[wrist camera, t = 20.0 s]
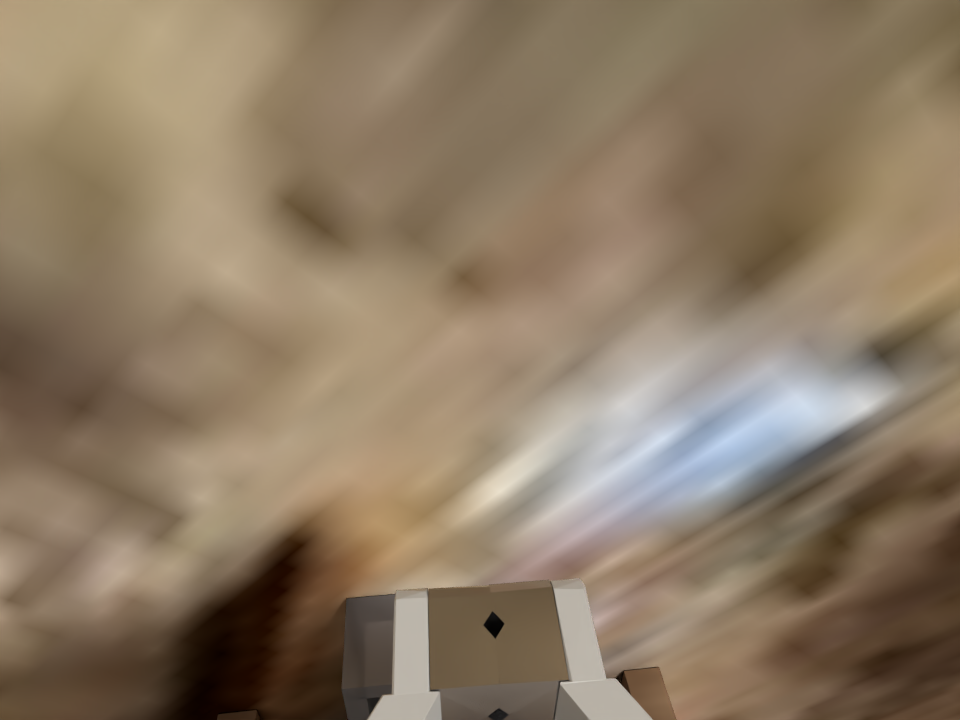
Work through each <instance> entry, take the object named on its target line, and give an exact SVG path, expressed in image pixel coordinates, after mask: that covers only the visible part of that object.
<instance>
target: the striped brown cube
mask: <svg viewBox="0 0 960 720" xmlns="http://www.w3.org/2000/svg"><path fill="white" fill-rule="evenodd" d="M621 685H622V686H623V687H624V688H625V689H626V690H627V691H628V693H629V694H630V695H631V696H632V697H633V698H634V699H635V700H636V701H637V702H638V704H639V705H640V706H641V707H642V708H643V709H644V710H645V711H646V712H647V714H648V715H649V716H650V717H651V718H652V719H653V720H676V717H675V714H674V711H673V708H672V705H671V702H670V699H669V696H668V693H667V690H666V687H665V684H664V681H663V678H662V675H661V672H660V669H659V667H657V668H648V669H638V670H629V671H624V674H623V678H622V682H621ZM217 720H260V717H259V715H258V712H257V710H253V711H244V712H234V713H225V714H218V717H217Z"/></svg>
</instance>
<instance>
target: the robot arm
mask: <svg viewBox="0 0 960 720" xmlns="http://www.w3.org/2000/svg"><path fill="white" fill-rule="evenodd" d="M367 720H653V719H652V718H651V717H650V716H649V715H648V714H647V712H646V711H645V710H644V709H643V708H642V707H641V706H640V705H639V704H638V702H637V701H636V700H635V699H634V698H633V697H632V696H631V695H630V694H629V693H628V691H627V690H626V689H625V688H624V687H623V686H622V685H621V684H620V683H619V681H618V680H617V679H616V678H608V679H606V675H605V671H604V666H603V662H602V658H601V653H600V649H599V645H598V640H597V636H596V632H595V627H594V623H593V618H592V614H591V610H590V605H589V601H588V597H587V592H586V588H585V585H584V583H583V582H582V580H581V579H580V578H578V579H565V580H552V581H549V580H541V581H529V582H516V583H504V584H492V585H485V586H468V587H451V588H433V589H428V588H424V589H410V590H396V594H395V600H394V628H393V665H392V694H387V695H382V696H381V698H380V699H379V701H378V703H377V704H376V706H375V707H374V709H373V711H372V712H371V714H370V715H369V717H368V719H367Z"/></svg>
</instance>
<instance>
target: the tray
mask: <svg viewBox="0 0 960 720" xmlns="http://www.w3.org/2000/svg"><path fill="white" fill-rule="evenodd" d="M394 600H395V594H393V595H382V596H371V597H359V598H348V599H346V618H345V636H344V654H343V672H342V694H343V698H344V703H345V708H346V712H347V717H348V720H367V719H368V717H369V715H370V714H371V712H372V711H373V709H374V707H375V706H376V704H377V703H378V701H379V699H380V698H381V696H382V695H387V694H392V665H393V628H394Z"/></svg>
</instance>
